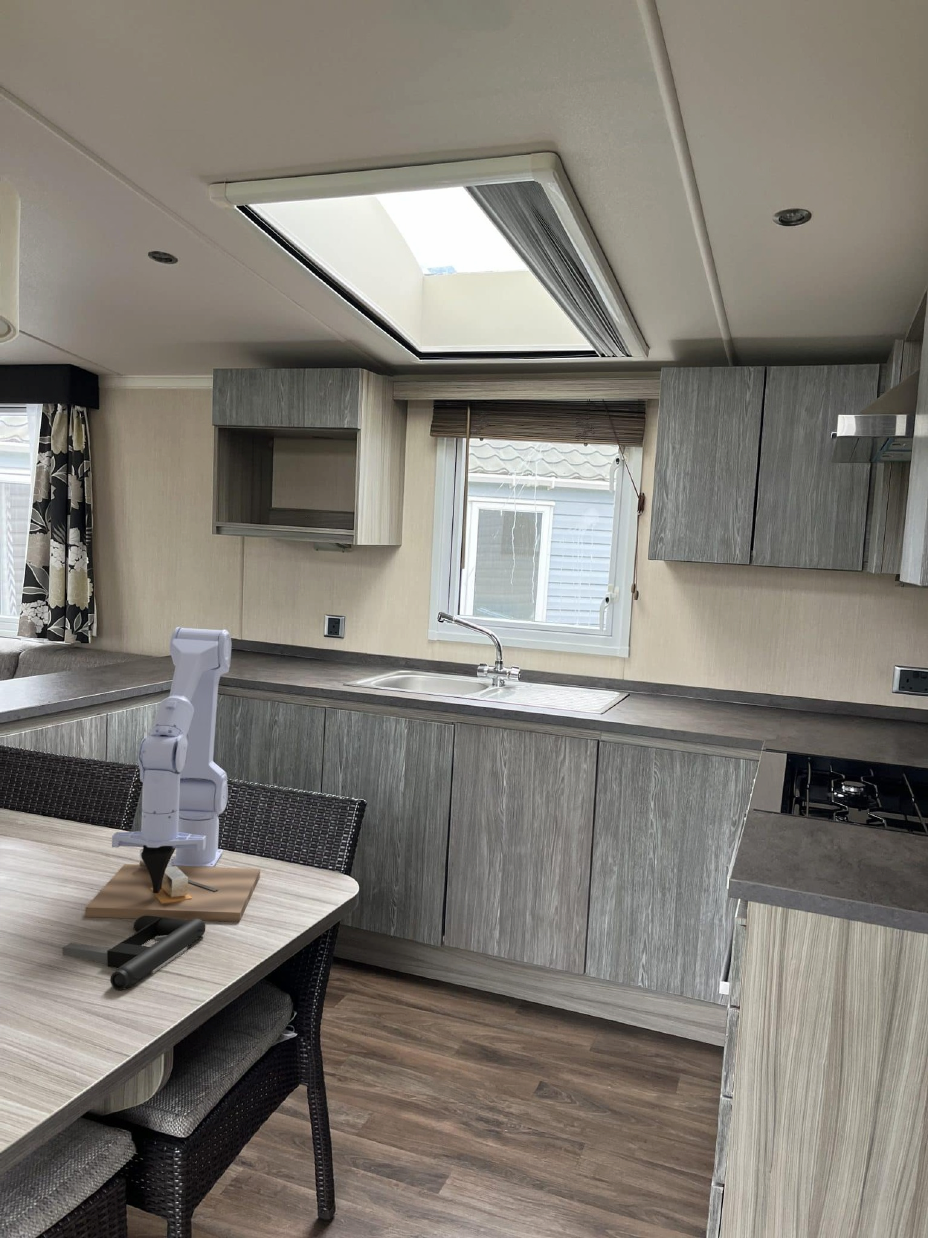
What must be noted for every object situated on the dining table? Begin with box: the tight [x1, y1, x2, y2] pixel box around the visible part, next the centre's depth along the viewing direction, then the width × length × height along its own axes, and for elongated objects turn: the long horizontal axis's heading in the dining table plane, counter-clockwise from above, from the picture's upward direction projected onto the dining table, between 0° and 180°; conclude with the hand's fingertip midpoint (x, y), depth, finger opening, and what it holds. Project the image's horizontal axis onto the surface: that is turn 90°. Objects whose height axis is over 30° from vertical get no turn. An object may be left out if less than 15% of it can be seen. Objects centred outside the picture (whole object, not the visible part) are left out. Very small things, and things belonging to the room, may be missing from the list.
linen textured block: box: [138, 848, 188, 897], centre depth 156 cm, size 18×4×4 cm, turn 35°
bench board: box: [84, 863, 261, 923], centre depth 154 cm, size 20×24×2 cm
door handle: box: [62, 915, 207, 991], centre depth 132 cm, size 3×20×16 cm
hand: (157, 891), depth 149 cm, fingers closed
